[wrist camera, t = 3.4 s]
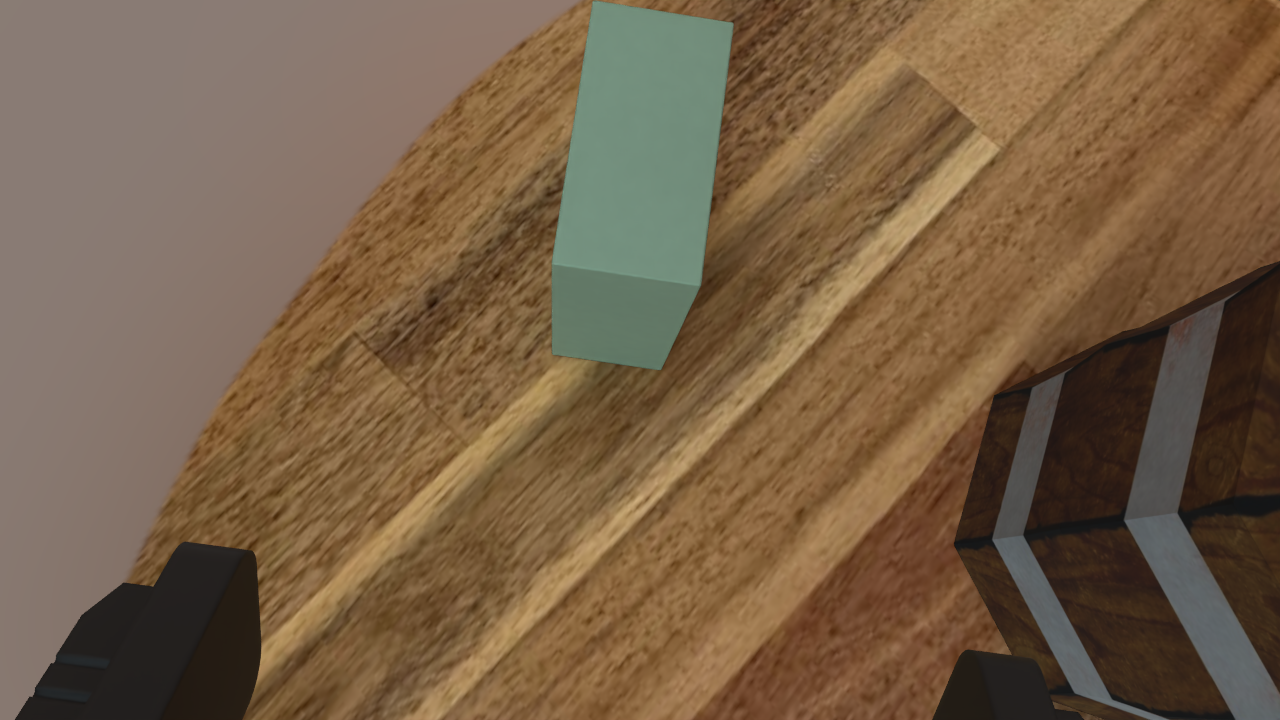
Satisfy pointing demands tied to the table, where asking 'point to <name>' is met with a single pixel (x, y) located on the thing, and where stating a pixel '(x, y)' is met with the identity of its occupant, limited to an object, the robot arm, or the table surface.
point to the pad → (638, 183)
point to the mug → (1143, 515)
